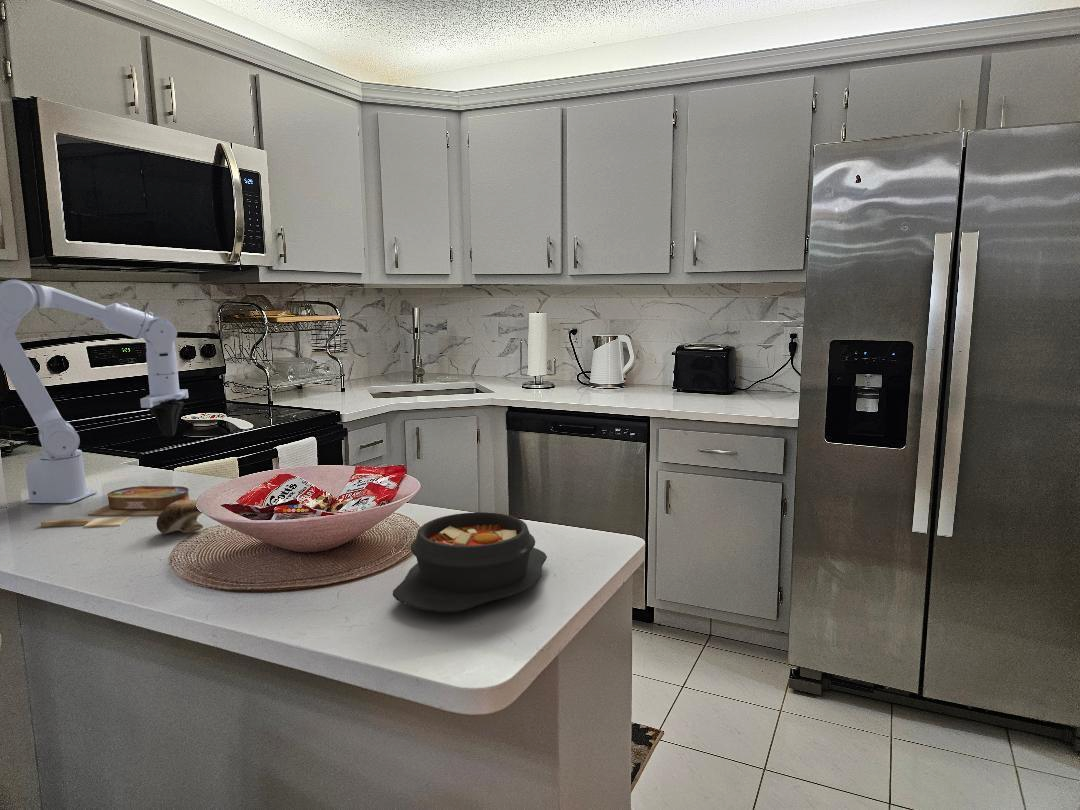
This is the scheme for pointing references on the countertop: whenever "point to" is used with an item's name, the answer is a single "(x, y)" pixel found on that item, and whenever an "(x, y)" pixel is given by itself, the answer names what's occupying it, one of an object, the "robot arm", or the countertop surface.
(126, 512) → the tan flat board
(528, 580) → the casserole
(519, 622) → the countertop surface
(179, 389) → the robot arm
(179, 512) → the mushroom
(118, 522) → the turner
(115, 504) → the tin
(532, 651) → the countertop surface
